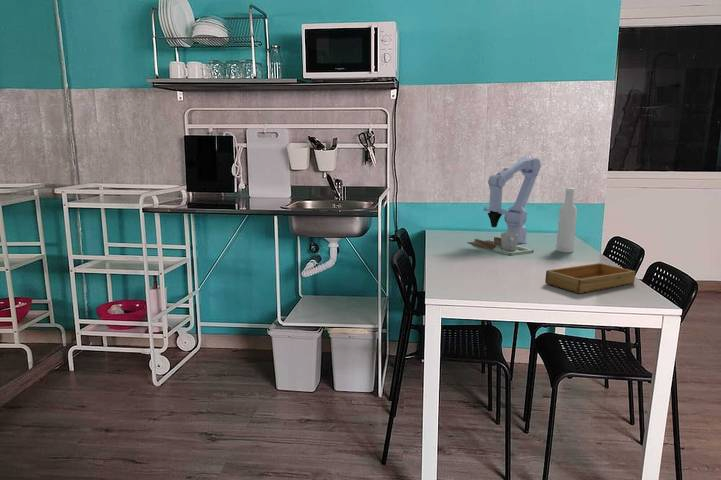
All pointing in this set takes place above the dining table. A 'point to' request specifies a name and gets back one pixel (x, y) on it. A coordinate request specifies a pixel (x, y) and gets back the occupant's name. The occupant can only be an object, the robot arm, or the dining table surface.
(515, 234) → the cup
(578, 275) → the tray
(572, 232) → the bottle
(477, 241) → the channel
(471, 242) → the pad
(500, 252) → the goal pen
